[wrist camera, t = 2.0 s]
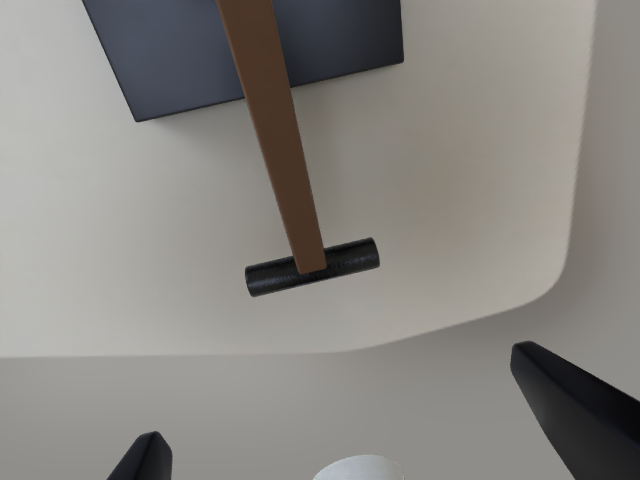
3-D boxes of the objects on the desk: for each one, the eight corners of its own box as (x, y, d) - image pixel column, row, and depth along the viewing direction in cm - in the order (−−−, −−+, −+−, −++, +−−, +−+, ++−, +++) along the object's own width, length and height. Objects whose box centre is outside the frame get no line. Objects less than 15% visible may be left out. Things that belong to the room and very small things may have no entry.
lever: (367, 241, 15) (385, 285, 14) (252, 268, 15) (254, 316, 13) (311, -485, 5) (353, -678, 3) (-51, -415, 5) (-201, -575, 3)
